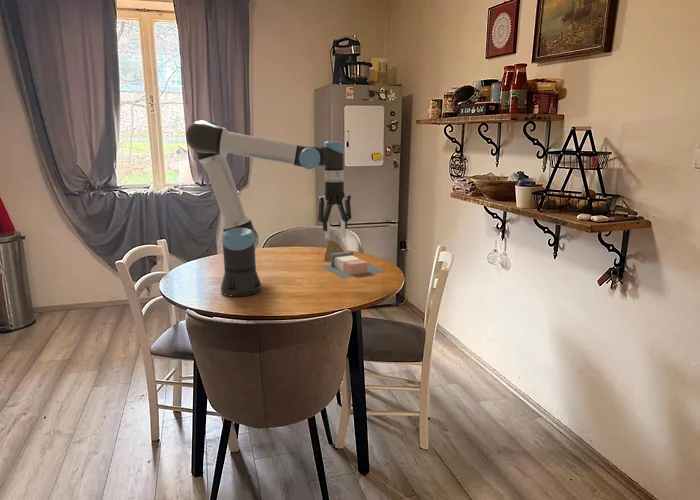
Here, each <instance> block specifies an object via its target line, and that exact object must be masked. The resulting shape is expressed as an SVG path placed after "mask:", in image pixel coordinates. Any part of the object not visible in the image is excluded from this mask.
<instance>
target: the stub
mask: <svg viewBox="0 0 700 500" xmlns="http://www.w3.org/2000/svg"><path fill="white" fill-rule="evenodd" d="M367 263H368V262H367V261H365V260H363V259H360V260H354V261H347V262H345V272H346V273H347V274H349V275H355V274H362V273H367Z"/></svg>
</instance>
